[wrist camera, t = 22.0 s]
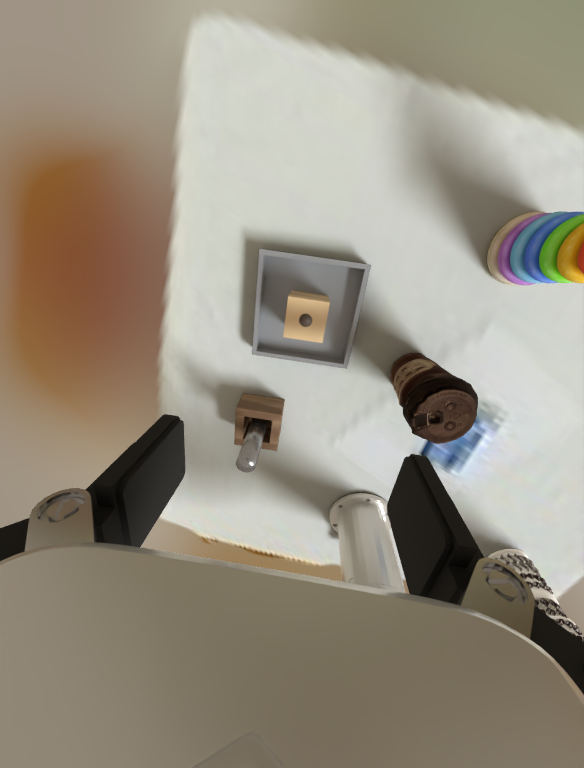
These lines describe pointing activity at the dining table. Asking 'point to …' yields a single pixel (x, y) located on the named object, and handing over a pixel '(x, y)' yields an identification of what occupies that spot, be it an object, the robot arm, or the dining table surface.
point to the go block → (259, 409)
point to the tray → (309, 276)
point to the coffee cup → (433, 399)
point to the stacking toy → (539, 249)
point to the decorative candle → (537, 587)
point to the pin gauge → (252, 445)
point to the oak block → (306, 316)
